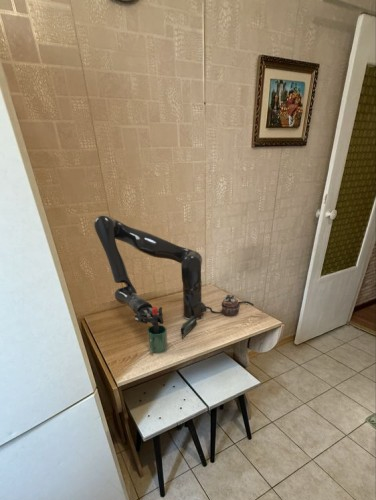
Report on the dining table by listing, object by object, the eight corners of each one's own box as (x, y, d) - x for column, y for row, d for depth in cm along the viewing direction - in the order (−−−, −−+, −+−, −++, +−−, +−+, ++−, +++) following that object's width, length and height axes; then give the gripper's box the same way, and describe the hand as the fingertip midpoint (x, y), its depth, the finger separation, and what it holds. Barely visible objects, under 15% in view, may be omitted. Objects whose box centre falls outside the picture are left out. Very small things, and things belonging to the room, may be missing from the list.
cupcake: (239, 318, 144) (240, 300, 139) (220, 316, 146) (221, 299, 140) (239, 309, 152) (240, 292, 146) (221, 308, 153) (222, 291, 148)
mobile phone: (192, 314, 139) (178, 328, 127) (197, 315, 137) (184, 329, 126) (192, 323, 141) (178, 337, 130) (197, 324, 140) (184, 339, 129)
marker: (159, 332, 121) (157, 307, 114) (159, 335, 119) (157, 309, 112) (154, 332, 121) (152, 307, 114) (154, 335, 119) (151, 309, 112)
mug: (154, 341, 128) (152, 323, 123) (170, 344, 126) (169, 326, 120) (143, 354, 119) (140, 336, 114) (160, 358, 117) (158, 340, 112)
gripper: (125, 303, 120) (143, 320, 108) (153, 295, 127) (173, 310, 115) (127, 318, 125) (145, 336, 113) (154, 309, 131) (174, 325, 119)
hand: (159, 323), depth 114 cm, fingers closed on marker, 2 cm apart
